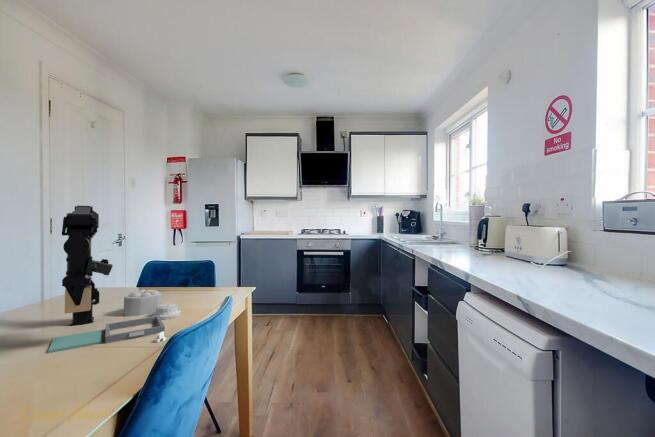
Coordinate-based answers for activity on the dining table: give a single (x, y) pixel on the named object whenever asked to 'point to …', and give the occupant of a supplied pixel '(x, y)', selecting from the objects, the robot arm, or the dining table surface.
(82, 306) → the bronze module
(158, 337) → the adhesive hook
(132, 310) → the lumpy-topped squat cylinder
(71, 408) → the dining table surface
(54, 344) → the service mat
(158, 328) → the grey tapered frame
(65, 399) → the dining table surface
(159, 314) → the mechanical component
